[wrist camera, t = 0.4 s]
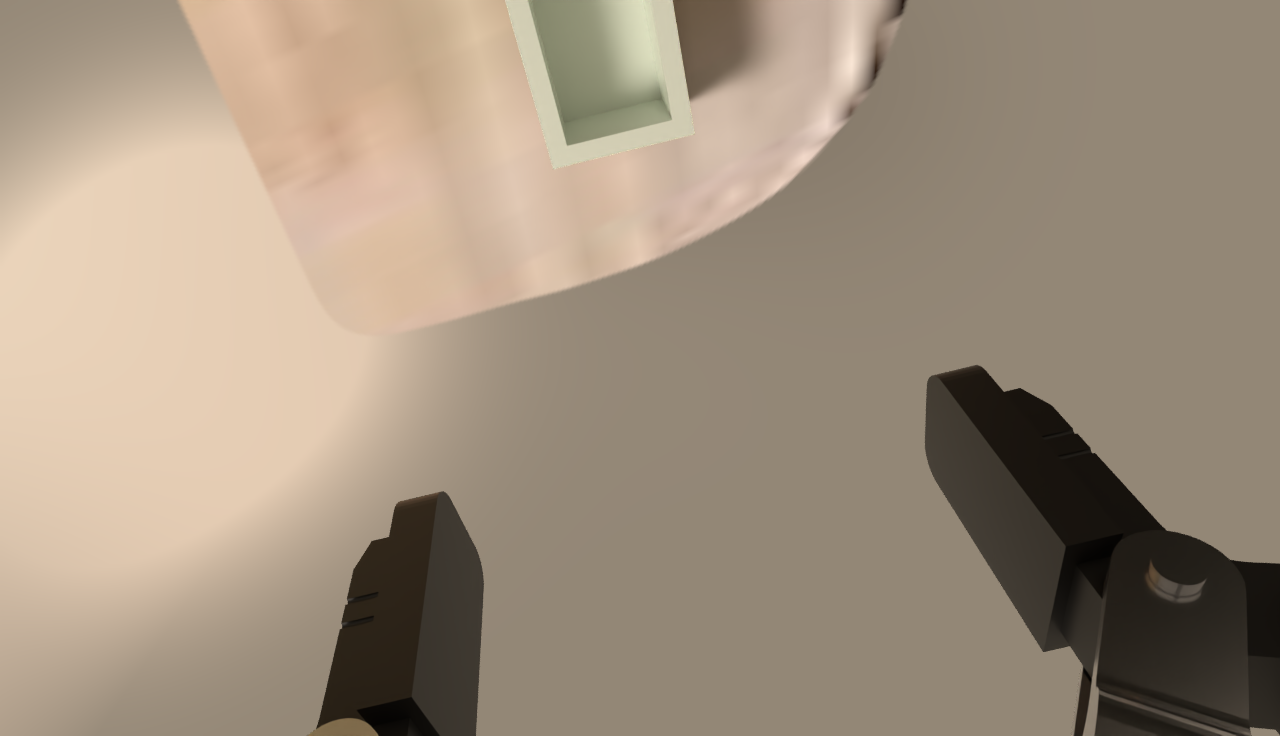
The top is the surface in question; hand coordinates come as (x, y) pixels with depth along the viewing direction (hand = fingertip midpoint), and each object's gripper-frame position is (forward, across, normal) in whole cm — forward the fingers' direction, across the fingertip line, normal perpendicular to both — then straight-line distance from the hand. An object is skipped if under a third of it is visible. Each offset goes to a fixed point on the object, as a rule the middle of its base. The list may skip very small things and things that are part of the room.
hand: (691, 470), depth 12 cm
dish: (+25, -1, -2) cm, 25 cm away
